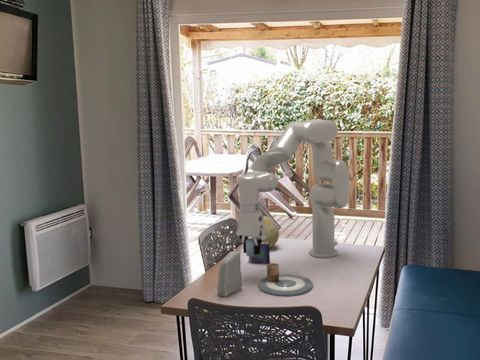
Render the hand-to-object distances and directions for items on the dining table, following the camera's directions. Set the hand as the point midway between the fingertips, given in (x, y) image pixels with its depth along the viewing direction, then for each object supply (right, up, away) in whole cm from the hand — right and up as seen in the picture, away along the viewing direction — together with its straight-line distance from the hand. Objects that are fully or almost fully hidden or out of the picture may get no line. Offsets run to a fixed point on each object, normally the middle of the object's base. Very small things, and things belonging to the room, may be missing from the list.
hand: (252, 252), depth 203 cm
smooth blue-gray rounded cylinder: (0, -1, 0) cm, 1 cm away
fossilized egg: (+7, -4, +42) cm, 42 cm away
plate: (+12, -11, -7) cm, 18 cm away
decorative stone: (-9, -13, -11) cm, 19 cm away
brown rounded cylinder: (+8, -10, -4) cm, 13 cm away
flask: (+4, -7, +21) cm, 22 cm away
